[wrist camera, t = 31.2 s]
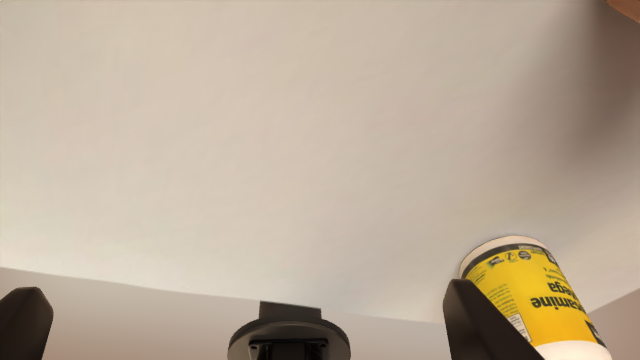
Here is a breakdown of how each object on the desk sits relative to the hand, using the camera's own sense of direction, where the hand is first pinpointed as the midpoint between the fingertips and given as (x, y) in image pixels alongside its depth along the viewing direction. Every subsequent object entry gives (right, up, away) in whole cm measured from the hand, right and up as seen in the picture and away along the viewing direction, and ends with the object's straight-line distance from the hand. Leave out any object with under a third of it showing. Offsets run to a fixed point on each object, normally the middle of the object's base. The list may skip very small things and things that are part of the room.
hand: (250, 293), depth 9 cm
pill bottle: (+14, -3, +20) cm, 25 cm away
